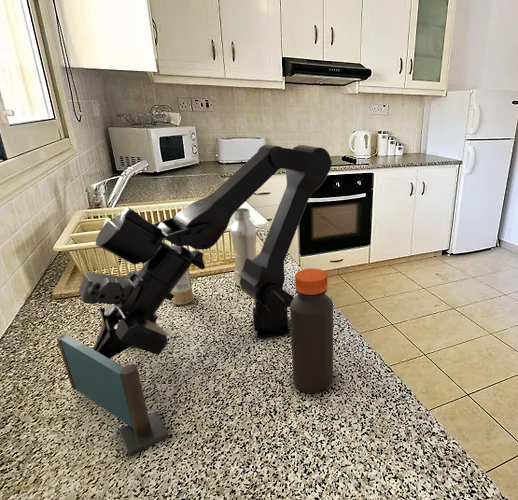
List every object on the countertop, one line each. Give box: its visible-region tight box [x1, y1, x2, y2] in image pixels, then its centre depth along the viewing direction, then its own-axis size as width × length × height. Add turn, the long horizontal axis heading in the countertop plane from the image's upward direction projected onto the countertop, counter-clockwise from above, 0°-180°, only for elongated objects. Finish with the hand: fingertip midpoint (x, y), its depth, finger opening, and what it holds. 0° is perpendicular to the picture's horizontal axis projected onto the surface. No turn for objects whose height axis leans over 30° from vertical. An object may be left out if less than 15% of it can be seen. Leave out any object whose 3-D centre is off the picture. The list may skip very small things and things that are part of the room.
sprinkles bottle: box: [171, 246, 195, 306], centre depth 86 cm, size 5×5×14 cm
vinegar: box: [289, 267, 334, 394], centre depth 60 cm, size 7×7×20 cm
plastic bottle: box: [229, 207, 258, 288], centre depth 93 cm, size 6×7×20 cm
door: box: [56, 333, 133, 428], centre depth 55 cm, size 1×16×10 cm, turn 61°
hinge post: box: [118, 363, 169, 457], centre depth 51 cm, size 5×5×12 cm
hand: (92, 363), depth 57 cm, fingers closed
